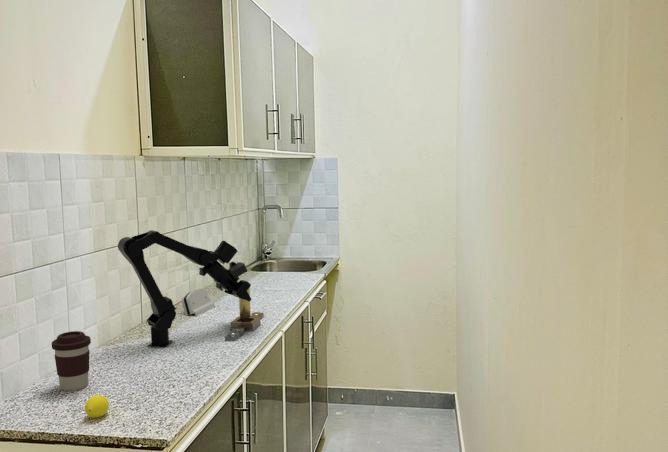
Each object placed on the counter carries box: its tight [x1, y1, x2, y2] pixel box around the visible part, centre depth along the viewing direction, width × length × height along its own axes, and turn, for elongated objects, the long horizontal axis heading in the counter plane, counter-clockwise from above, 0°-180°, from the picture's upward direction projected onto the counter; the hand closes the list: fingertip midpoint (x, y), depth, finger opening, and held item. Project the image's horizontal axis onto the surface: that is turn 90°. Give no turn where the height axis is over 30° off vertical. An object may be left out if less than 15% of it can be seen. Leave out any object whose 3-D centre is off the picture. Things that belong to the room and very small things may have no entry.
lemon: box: [84, 394, 110, 419], centre depth 147 cm, size 7×5×5 cm
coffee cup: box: [51, 330, 92, 392], centre depth 167 cm, size 10×10×15 cm
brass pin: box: [238, 286, 252, 318], centre depth 222 cm, size 4×4×12 cm
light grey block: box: [181, 288, 216, 317], centre depth 249 cm, size 17×5×10 cm, turn 164°
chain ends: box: [224, 311, 265, 342], centre depth 223 cm, size 33×9×3 cm, turn 169°
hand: (247, 299), depth 222 cm, fingers closed on brass pin, 4 cm apart
